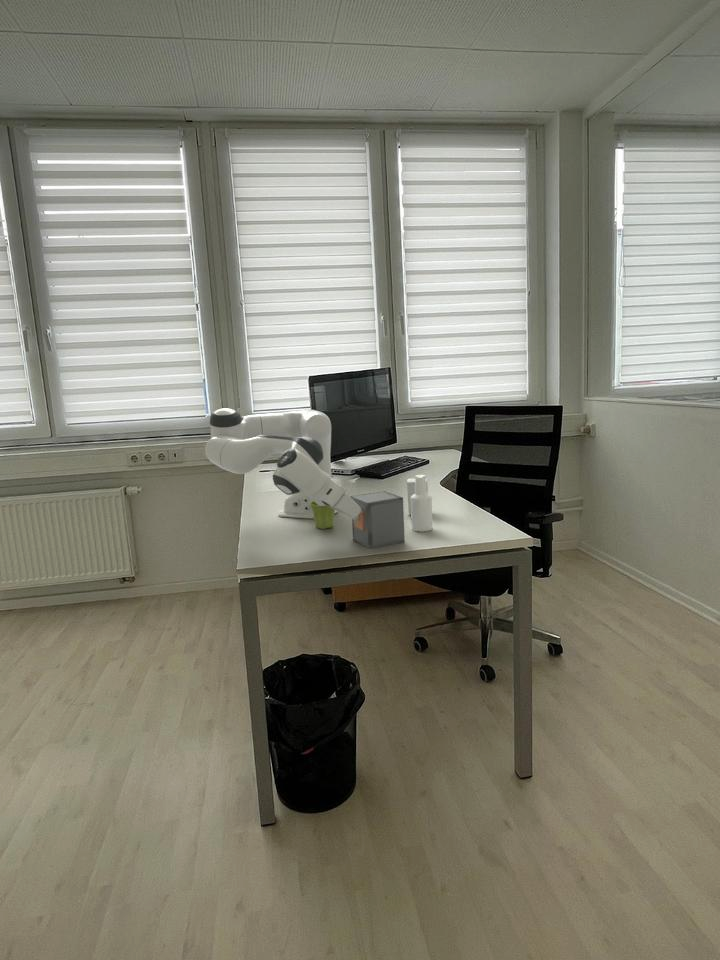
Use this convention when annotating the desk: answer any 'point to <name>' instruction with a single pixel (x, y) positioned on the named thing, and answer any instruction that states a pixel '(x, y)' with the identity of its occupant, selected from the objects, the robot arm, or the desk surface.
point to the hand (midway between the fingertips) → (356, 518)
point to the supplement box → (411, 491)
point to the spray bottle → (421, 506)
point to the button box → (380, 519)
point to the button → (360, 521)
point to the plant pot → (323, 515)
